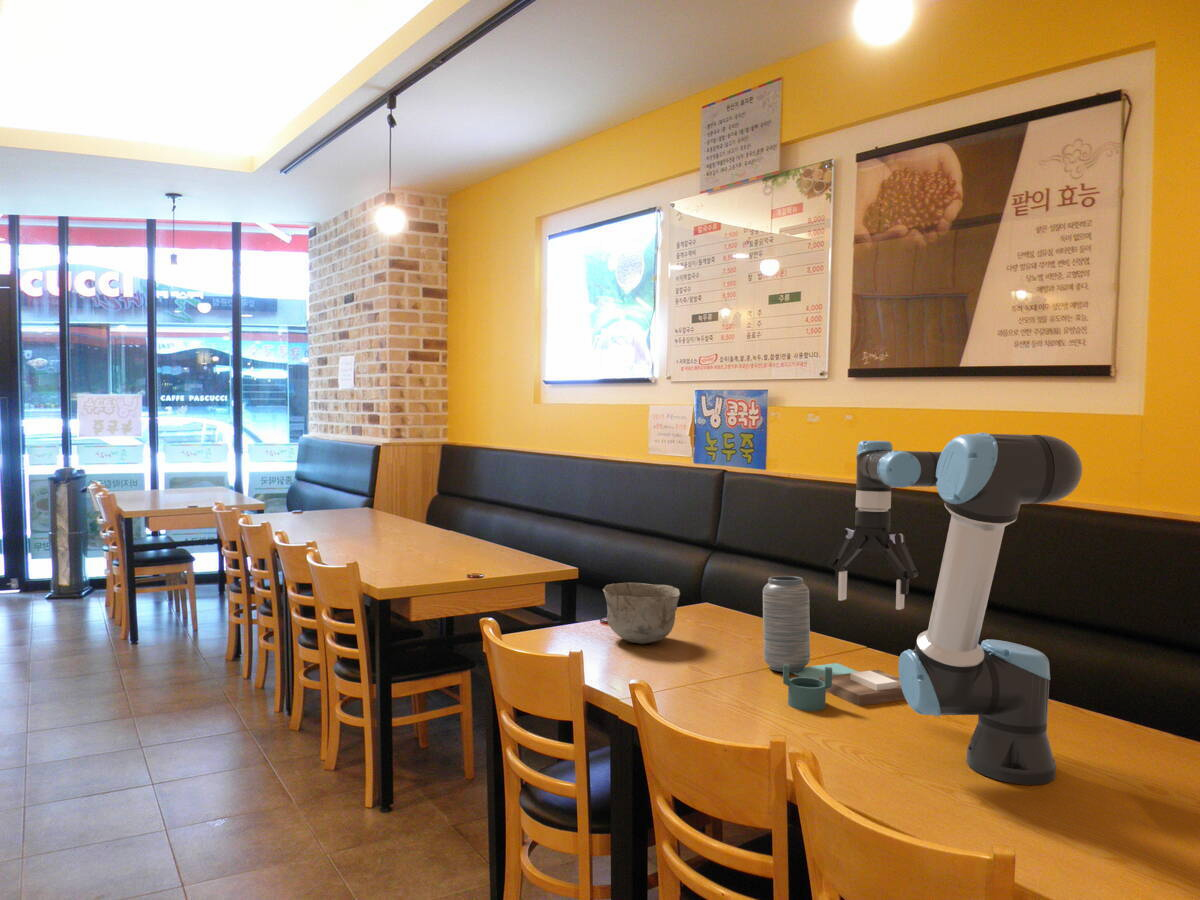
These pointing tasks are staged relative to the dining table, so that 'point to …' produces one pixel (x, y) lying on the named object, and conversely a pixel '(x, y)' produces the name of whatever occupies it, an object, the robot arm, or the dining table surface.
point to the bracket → (807, 690)
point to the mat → (823, 670)
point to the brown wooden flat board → (863, 690)
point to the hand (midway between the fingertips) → (870, 604)
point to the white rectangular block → (873, 680)
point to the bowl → (641, 610)
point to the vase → (786, 623)
